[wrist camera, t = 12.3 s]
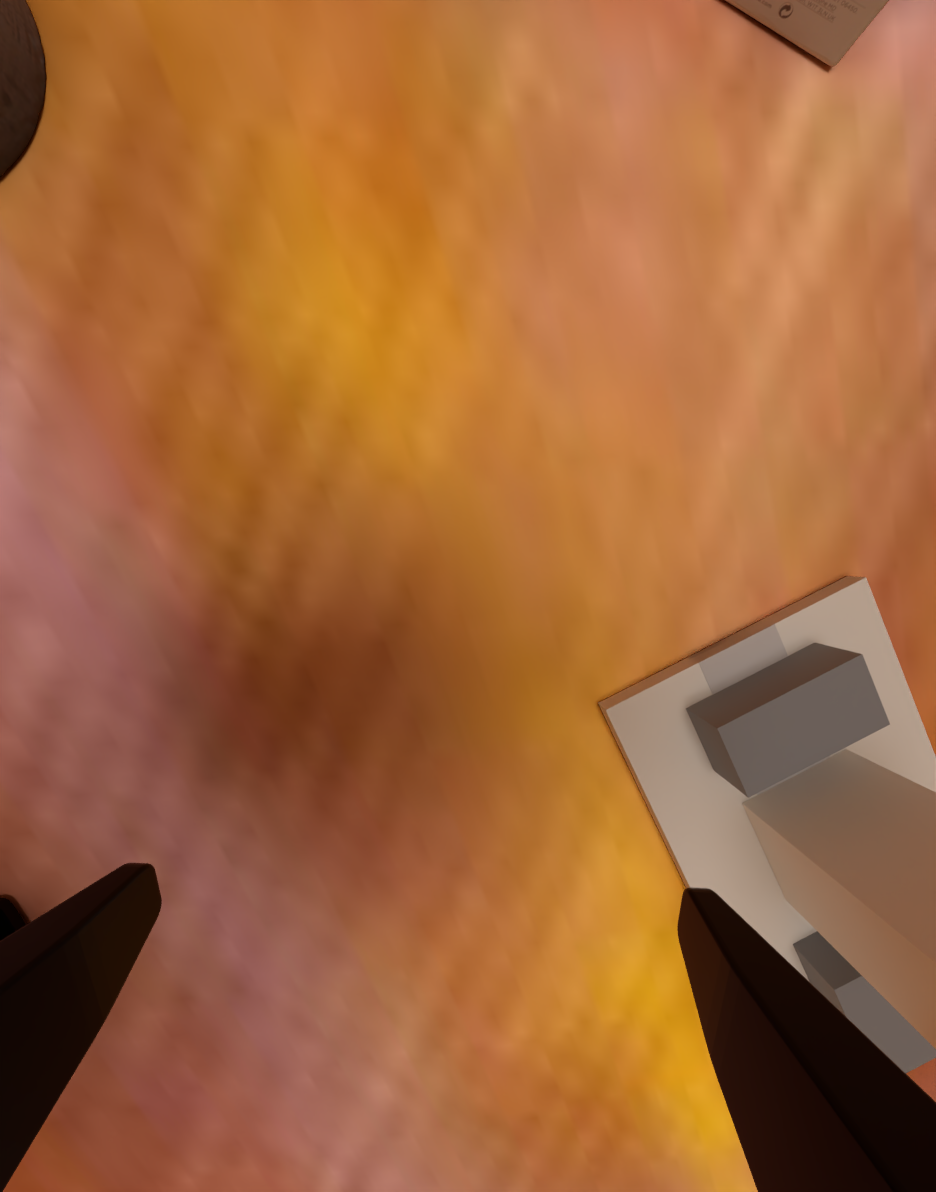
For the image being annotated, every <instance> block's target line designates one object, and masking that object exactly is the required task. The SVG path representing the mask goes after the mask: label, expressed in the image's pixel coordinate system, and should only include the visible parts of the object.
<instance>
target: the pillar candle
mask: <svg viewBox="0 0 936 1192" xmlns="http://www.w3.org/2000/svg"><path fill="white" fill-rule="evenodd" d="M44 61H45V59H44V54H43V51H42V46H41V43H40V36H39V33H38V30H37V27H36V24H35V21H34V19H33V16H32V14H31V12H30V9H29V7H28V5H27V3H26V1H25V0H0V176H1V175H3V174H4V173H5V171H6V170H7V169H8V168H9V167H10V166H11V165H12V164H13V163H14V162H15V161H16V160H17V159H18V157H19V156H20V155H21V153H22V152H23V150H24V149H25V147H26V146H27V144H28V142H29V140H30V138H31V136H32V134H33V132H34V130H35V128H36V125H37V121H38V117H39V112H40V111H41V109H42V107H43V102H44V93H45V80H46V74H45V67H44Z"/></svg>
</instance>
